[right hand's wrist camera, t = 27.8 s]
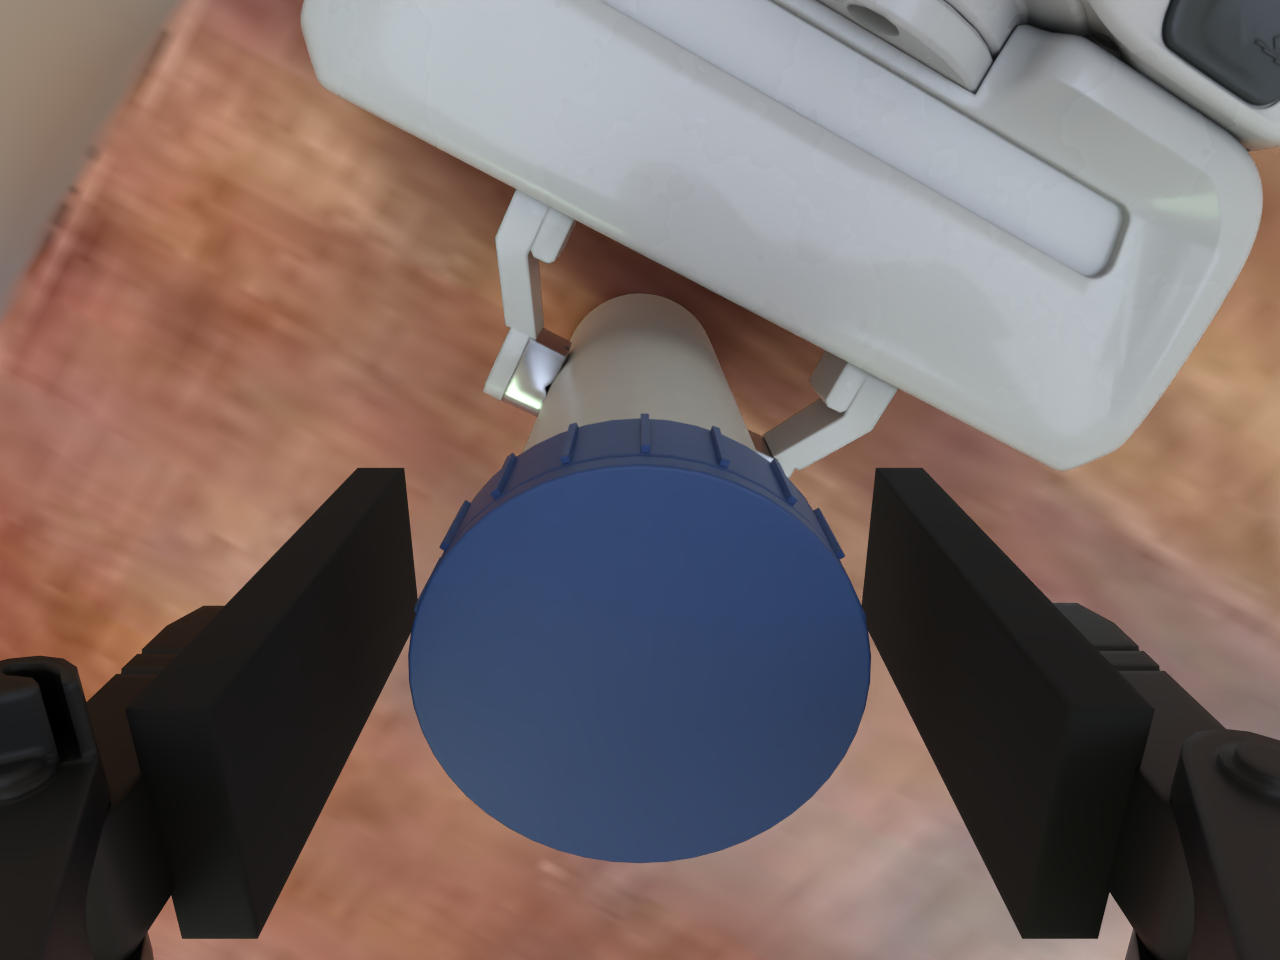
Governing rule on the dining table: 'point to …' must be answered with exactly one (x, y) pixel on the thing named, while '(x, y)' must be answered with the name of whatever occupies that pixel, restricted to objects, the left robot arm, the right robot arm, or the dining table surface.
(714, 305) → the dining table surface
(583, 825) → the lid
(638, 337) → the jar
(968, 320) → the left robot arm
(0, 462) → the dining table surface
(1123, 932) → the dining table surface
